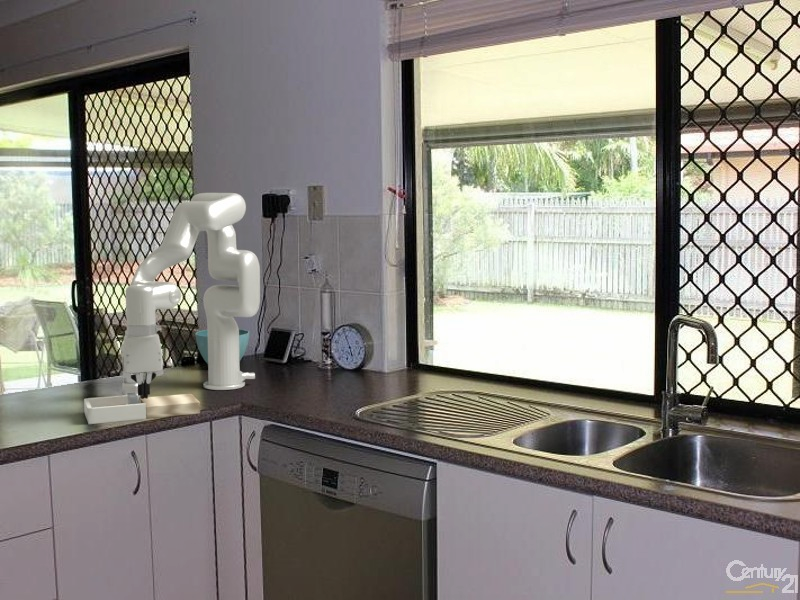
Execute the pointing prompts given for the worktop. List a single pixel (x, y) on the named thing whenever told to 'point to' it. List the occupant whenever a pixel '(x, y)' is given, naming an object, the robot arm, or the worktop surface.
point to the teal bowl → (203, 343)
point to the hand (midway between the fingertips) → (144, 397)
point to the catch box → (112, 409)
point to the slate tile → (132, 398)
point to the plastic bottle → (129, 380)
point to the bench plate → (171, 405)
